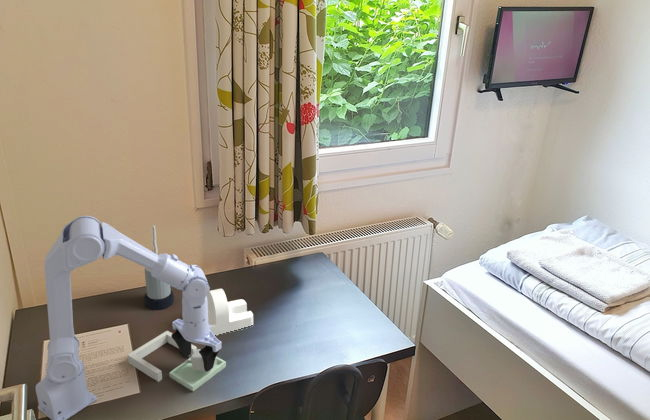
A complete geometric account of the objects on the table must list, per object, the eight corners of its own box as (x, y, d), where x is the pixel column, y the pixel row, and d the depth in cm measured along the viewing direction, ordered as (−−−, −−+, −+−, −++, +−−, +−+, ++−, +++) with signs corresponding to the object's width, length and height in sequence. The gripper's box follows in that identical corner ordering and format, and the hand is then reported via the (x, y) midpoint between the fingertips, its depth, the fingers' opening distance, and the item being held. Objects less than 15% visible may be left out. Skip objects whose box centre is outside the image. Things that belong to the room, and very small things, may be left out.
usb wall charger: (209, 373, 124) (206, 359, 122) (184, 370, 126) (180, 356, 124) (217, 362, 127) (214, 349, 126) (192, 360, 129) (189, 347, 128)
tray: (193, 391, 121) (192, 386, 120) (169, 377, 125) (169, 372, 124) (226, 366, 129) (226, 361, 129) (203, 353, 133) (203, 349, 132)
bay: (158, 381, 123) (157, 373, 122) (128, 362, 128) (127, 354, 127) (197, 354, 132) (196, 347, 131) (167, 338, 138) (167, 330, 137)
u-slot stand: (182, 322, 145) (180, 289, 141) (243, 308, 153) (243, 277, 148) (190, 342, 137) (188, 308, 133) (254, 327, 145) (254, 294, 141)
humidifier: (178, 296, 156) (173, 221, 146) (167, 311, 149) (161, 234, 139) (152, 293, 157) (145, 218, 147) (140, 308, 149) (132, 231, 140)
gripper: (230, 319, 120) (231, 366, 125) (186, 297, 127) (189, 342, 132) (208, 334, 114) (210, 382, 120) (164, 310, 121) (167, 356, 127)
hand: (197, 362), depth 126 cm, fingers closed on usb wall charger, 7 cm apart
